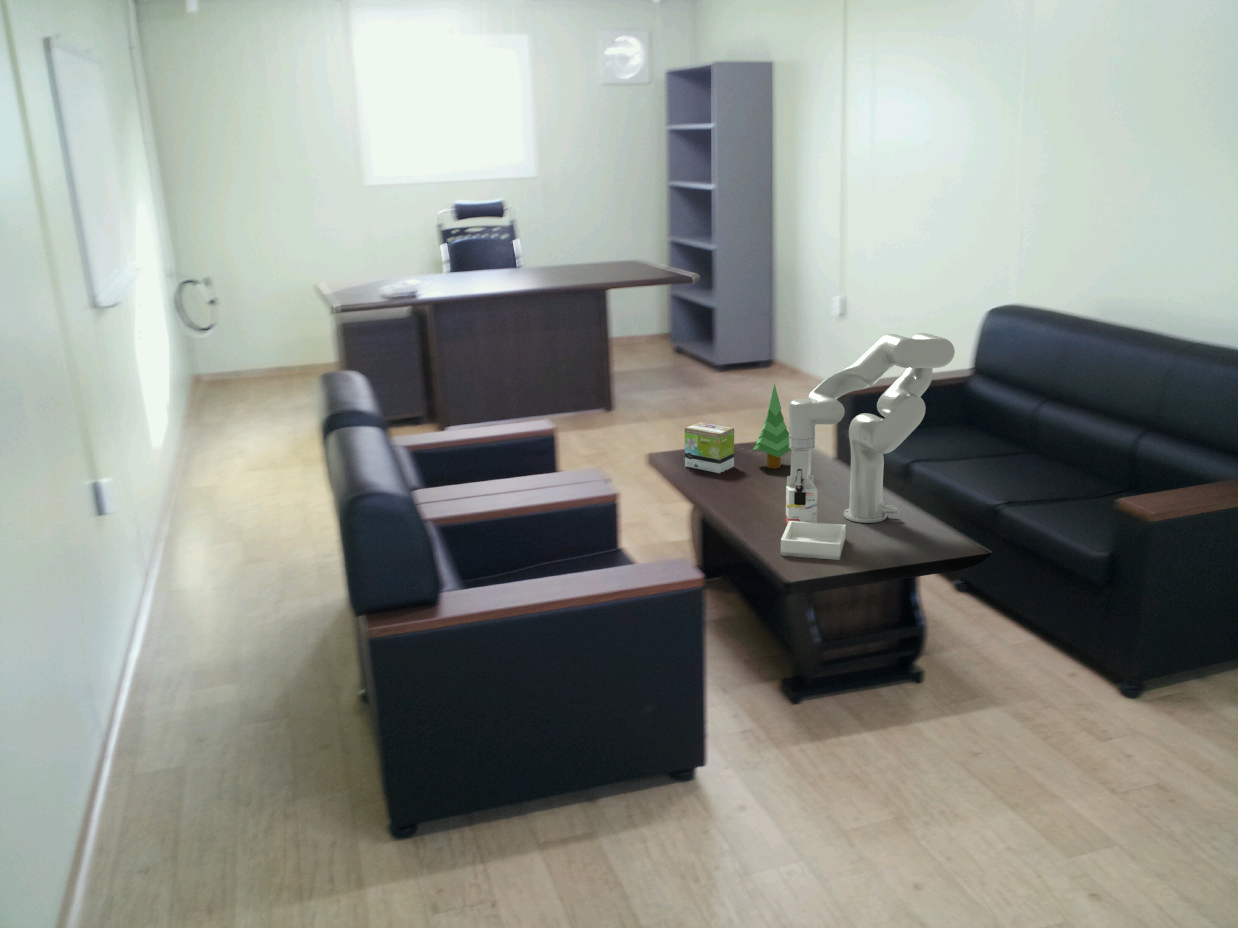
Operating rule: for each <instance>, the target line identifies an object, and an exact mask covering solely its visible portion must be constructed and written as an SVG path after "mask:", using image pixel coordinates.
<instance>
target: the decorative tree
mask: <svg viewBox="0 0 1238 928" xmlns="http://www.w3.org/2000/svg"><path fill="white" fill-rule="evenodd" d="M772 387H773V388H772V392H771V397H770V401H769V405H768V409H767V415H766V417H765V421H764V425H763V427H762V429H761V432H760V434H759V436H758V439H757V441H756V442H755V446H754V447H753V448H752V450H753V451H755V450H759V451H761V452H763V453H766V466H767V468H768V469H778V468H781V458H782V456H783V455H785V454H787V453H788V452H790V451H792V449H790V448H789V430H788V429H787V425H786V423H785V421H784V420H785V419H784V416H783V413H782V407H781V403H780V398H779V395H778V391H777V387H776V384H775V383H774V384H773V386H772Z"/></svg>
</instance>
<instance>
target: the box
mask: <svg viewBox="0 0 1238 928" xmlns="http://www.w3.org/2000/svg"><path fill="white" fill-rule="evenodd" d="M846 526H847V525H846V524H840V523H829V522H828V523H827V522H817V523H814V522H800V521H789V522H788V524H786V527H785V530H784V532H783V534H782V536H781V538H780V556H783V557H798V558H811V559H821V560H823V559H824V560H836V561H840V560H841V556H842V552H843V549H844V546H845V541H846V531H847V530H846Z"/></svg>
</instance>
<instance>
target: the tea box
mask: <svg viewBox="0 0 1238 928" xmlns="http://www.w3.org/2000/svg"><path fill="white" fill-rule="evenodd" d="M684 467H685V468H692V469H697V470H701V471H702V470H703V471H707V472H711V473H716V474H721V472H722V473H724V472H726V471H728V470H730V469H732V468H733V467H735V427H730V426H725V425H724V426H723V425H719V424H718V425H717V424H713V423H707V422H700V421H699V422H697V423H695V424H692V425H690V426H687V427H684ZM725 470H726V471H725Z"/></svg>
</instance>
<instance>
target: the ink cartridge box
mask: <svg viewBox="0 0 1238 928" xmlns="http://www.w3.org/2000/svg"><path fill="white" fill-rule="evenodd" d="M803 482H804V481H803ZM801 485H802V486H803V484H801ZM785 486H786V487H785V488H786V489H785V523H786V525H787V524H788V522H789V521H800V522H814V523H818V488H817V486H816V485H815V475H813V474H810V476H809V479H808V481H807V482H806V483H805V492H806V504H805V505H795V504H794V492H795V480H794V481H793V482H791V481H790V475H788V476H786V485H785Z"/></svg>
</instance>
